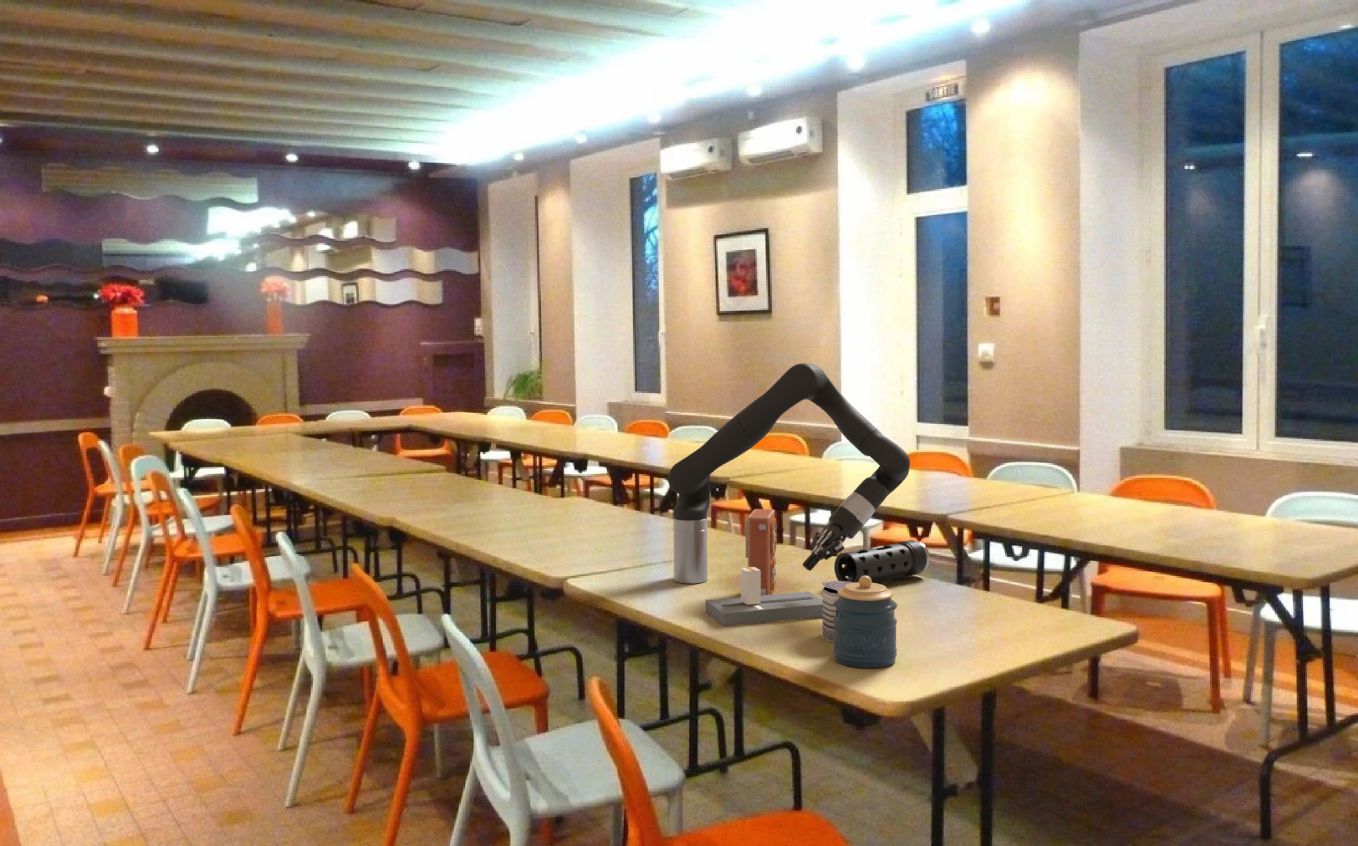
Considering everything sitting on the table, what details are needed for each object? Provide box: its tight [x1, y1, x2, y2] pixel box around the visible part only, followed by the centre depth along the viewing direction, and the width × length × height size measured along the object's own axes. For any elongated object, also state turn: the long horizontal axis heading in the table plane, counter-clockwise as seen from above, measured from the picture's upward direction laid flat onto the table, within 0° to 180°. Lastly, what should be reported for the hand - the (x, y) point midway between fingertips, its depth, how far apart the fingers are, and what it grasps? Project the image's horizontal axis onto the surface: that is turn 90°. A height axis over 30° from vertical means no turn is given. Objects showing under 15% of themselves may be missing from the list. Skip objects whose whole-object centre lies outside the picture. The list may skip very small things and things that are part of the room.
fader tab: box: [740, 566, 761, 605], centre depth 259 cm, size 4×4×8 cm
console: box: [705, 591, 823, 627], centre depth 261 cm, size 13×27×3 cm, turn 107°
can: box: [822, 580, 855, 643], centre depth 241 cm, size 11×11×12 cm
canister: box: [832, 576, 898, 669], centre depth 224 cm, size 13×13×18 cm
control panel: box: [744, 508, 778, 595], centre depth 279 cm, size 21×7×15 cm
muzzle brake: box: [833, 539, 931, 585], centre depth 292 cm, size 10×28×10 cm, turn 126°
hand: (806, 568), depth 263 cm, fingers closed
